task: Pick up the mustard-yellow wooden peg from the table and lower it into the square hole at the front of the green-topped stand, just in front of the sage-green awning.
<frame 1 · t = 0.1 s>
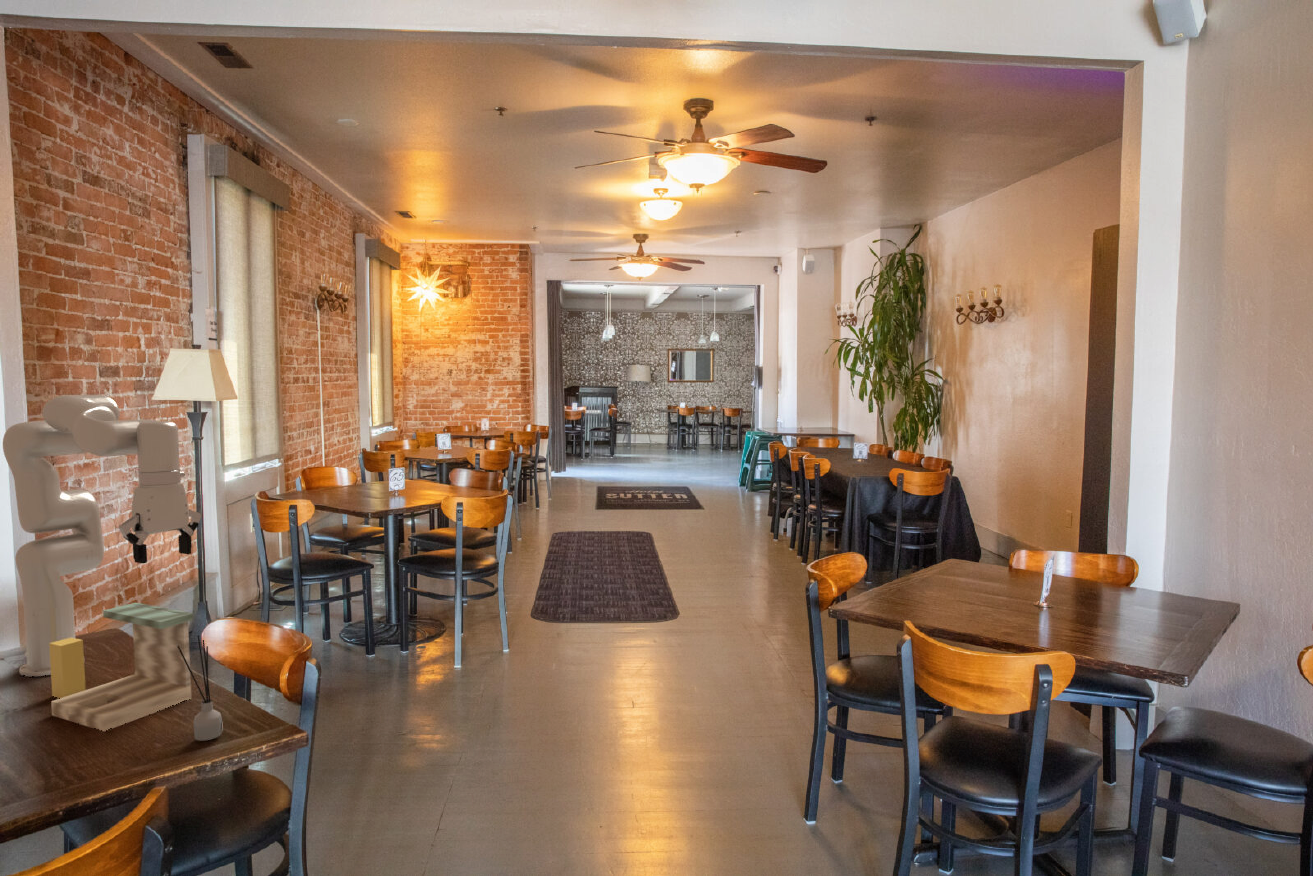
hand: (163, 558, 171), 31 cm above the table, tool pointing down, fingers open, 9 cm apart
green-topped stand: (118, 708, 168), on the table
peg: (69, 694, 176), on the table
reed diffuser: (202, 740, 153), on the table
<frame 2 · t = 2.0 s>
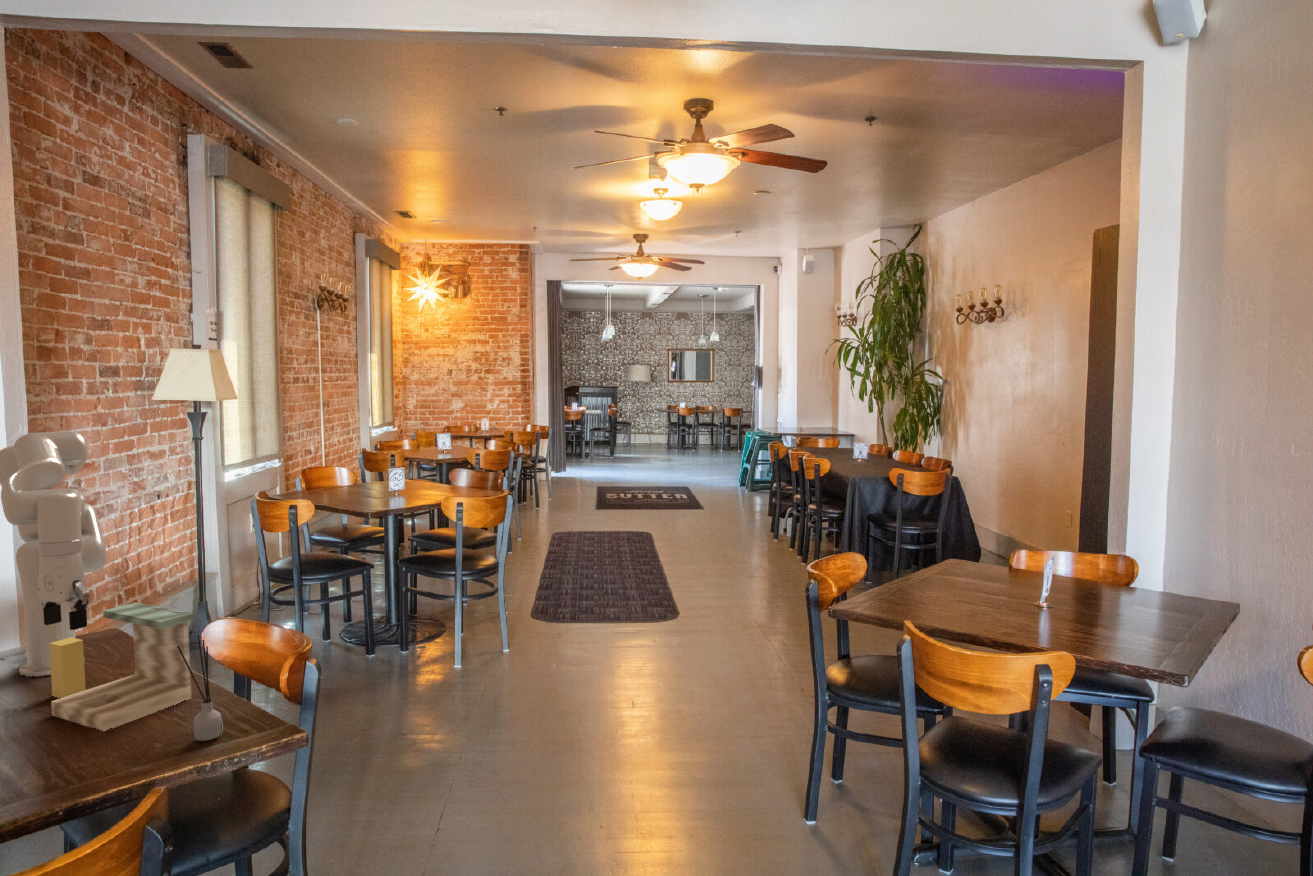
hand: (65, 626, 174), 16 cm above the table, tool pointing down, fingers open, 9 cm apart
nothing on the table moved.
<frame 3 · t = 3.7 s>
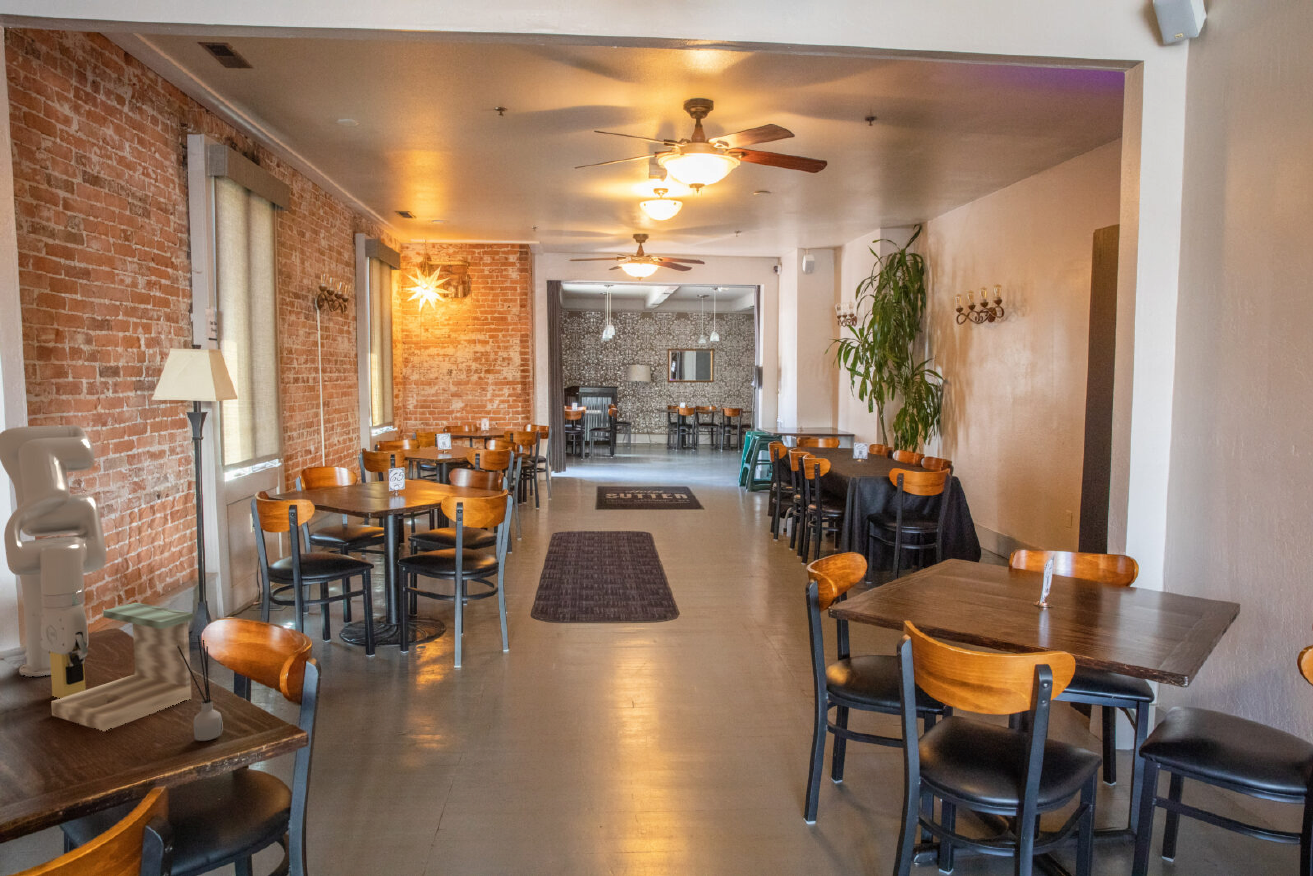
hand: (68, 679, 176), 3 cm above the table, tool pointing down, fingers closed on peg, 4 cm apart
peg: (69, 694, 176), on the table, touching gripper
everything else where it was.
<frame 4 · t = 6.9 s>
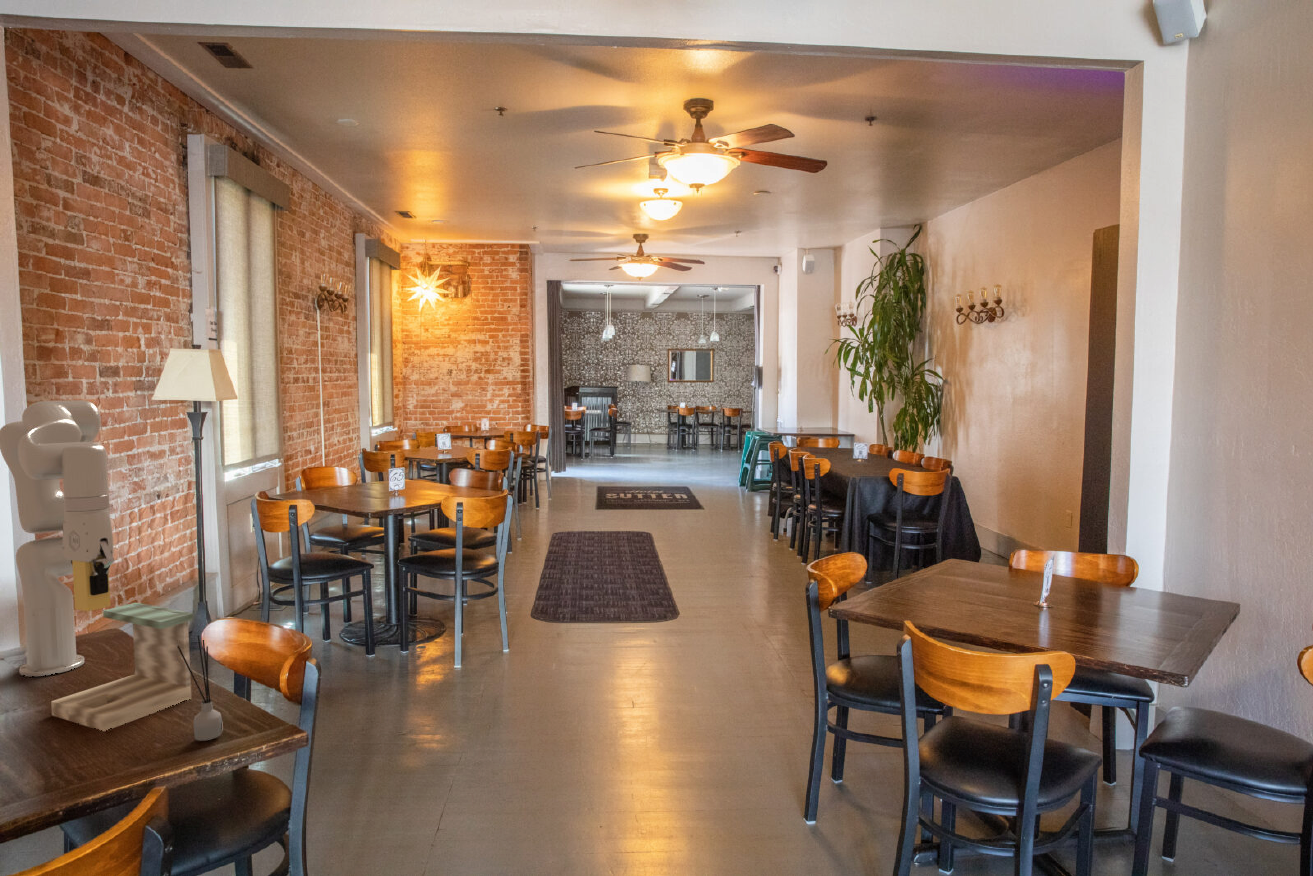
hand: (92, 591, 164), 26 cm above the table, tool pointing down, fingers closed on peg, 4 cm apart
peg: (92, 607, 164), point 23 cm above the table, touching gripper
everything else where it was.
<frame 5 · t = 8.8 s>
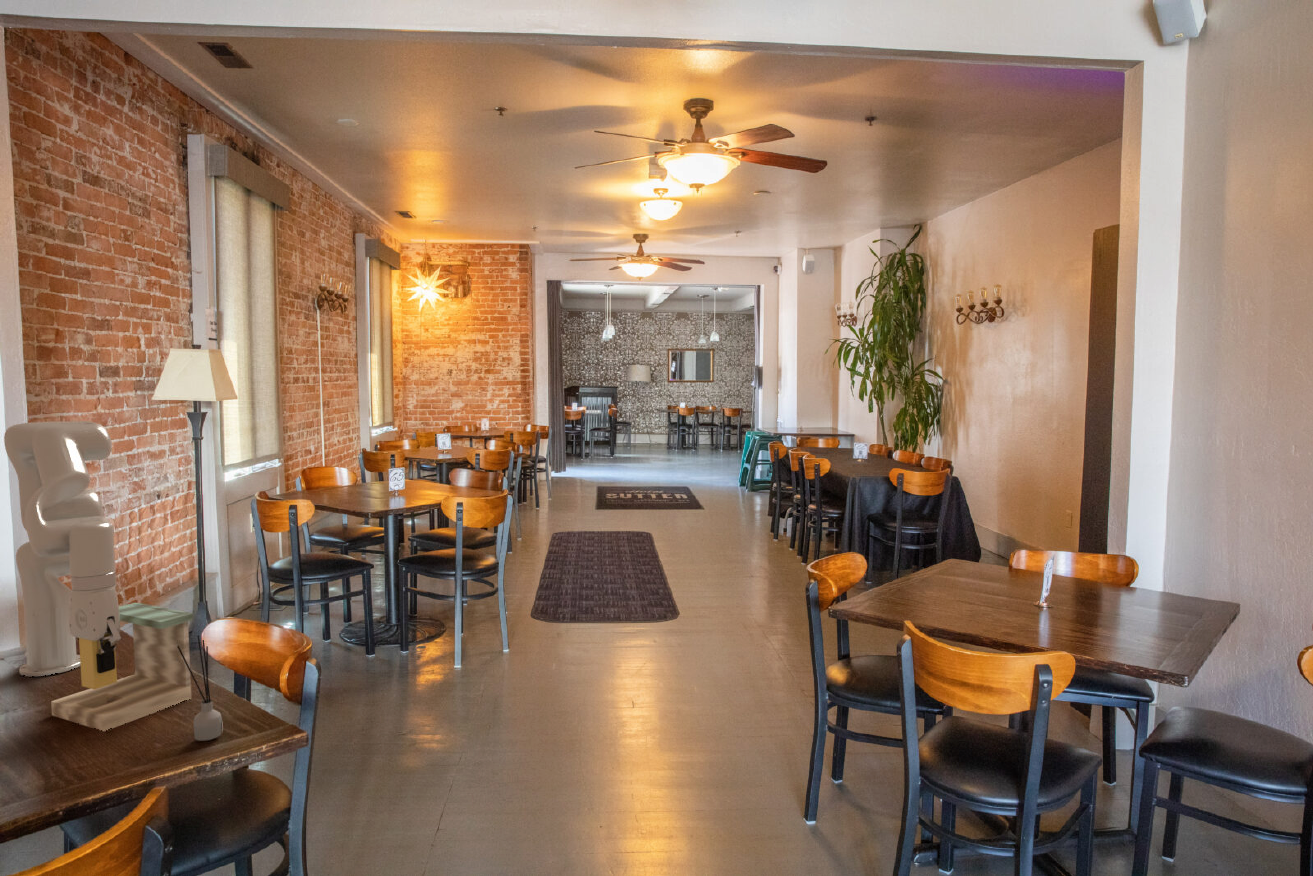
hand: (98, 668, 164), 10 cm above the table, tool pointing down, fingers closed on peg, 4 cm apart
peg: (99, 684, 164), point 7 cm above the table, touching gripper
everything else where it was.
when the fingers open (5 cm above the table, at t = 10.1 s): peg drops 1 cm, resting in green-topped stand.
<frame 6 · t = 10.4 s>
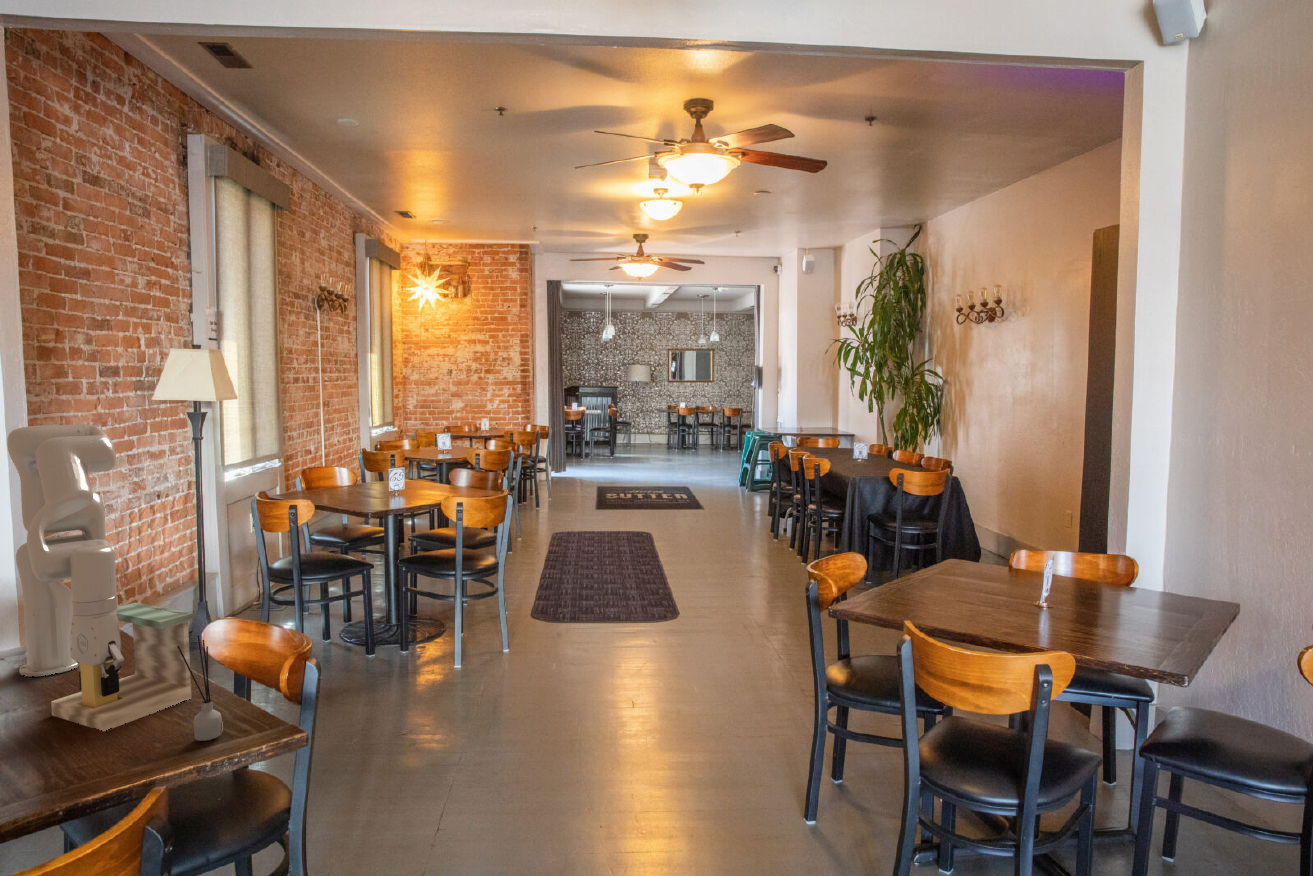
hand: (99, 690, 165), 5 cm above the table, tool pointing down, fingers open, 6 cm apart
peg: (100, 715, 165), resting in green-topped stand
everything else where it was.
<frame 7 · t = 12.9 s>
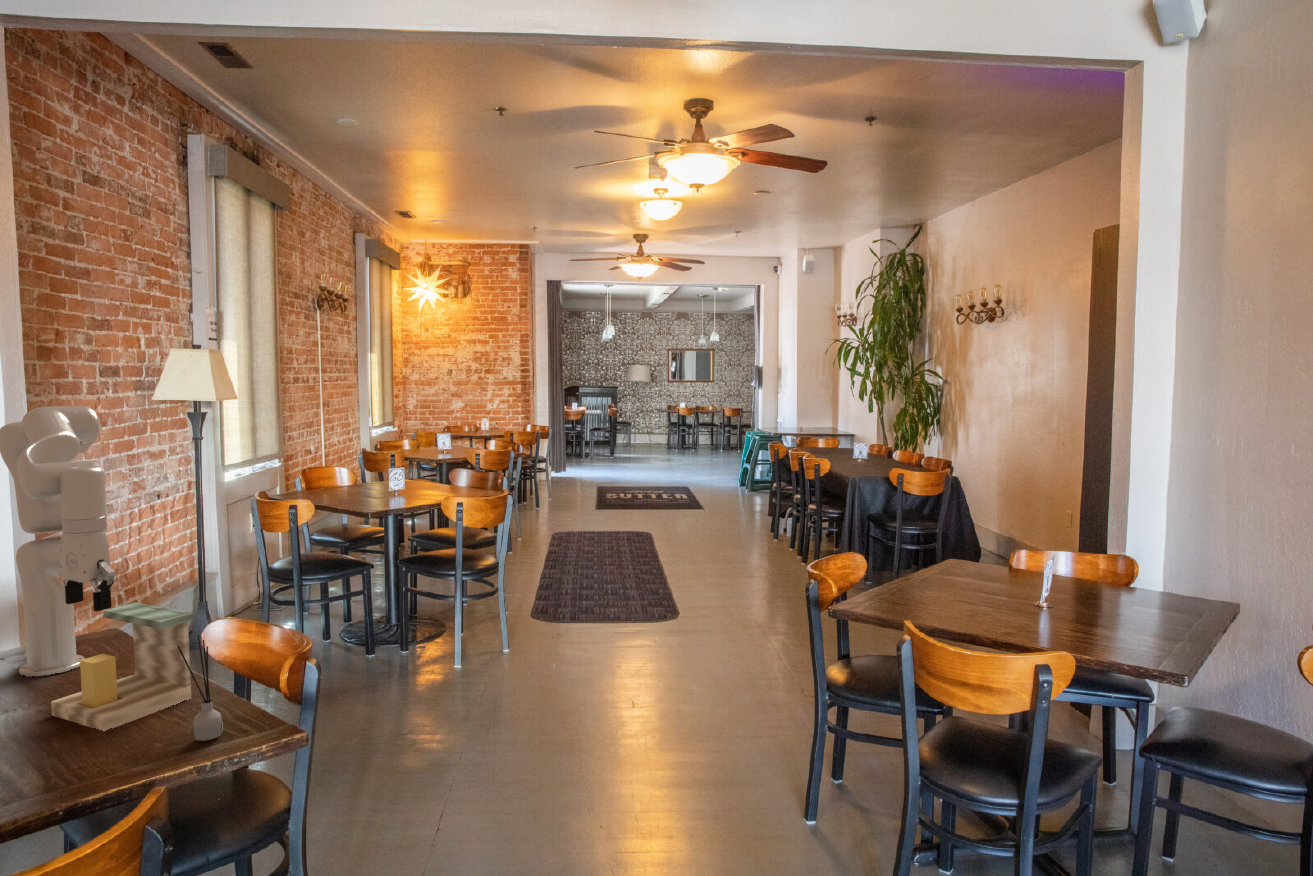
hand: (88, 606, 166), 22 cm above the table, tool pointing down, fingers open, 9 cm apart
nothing on the table moved.
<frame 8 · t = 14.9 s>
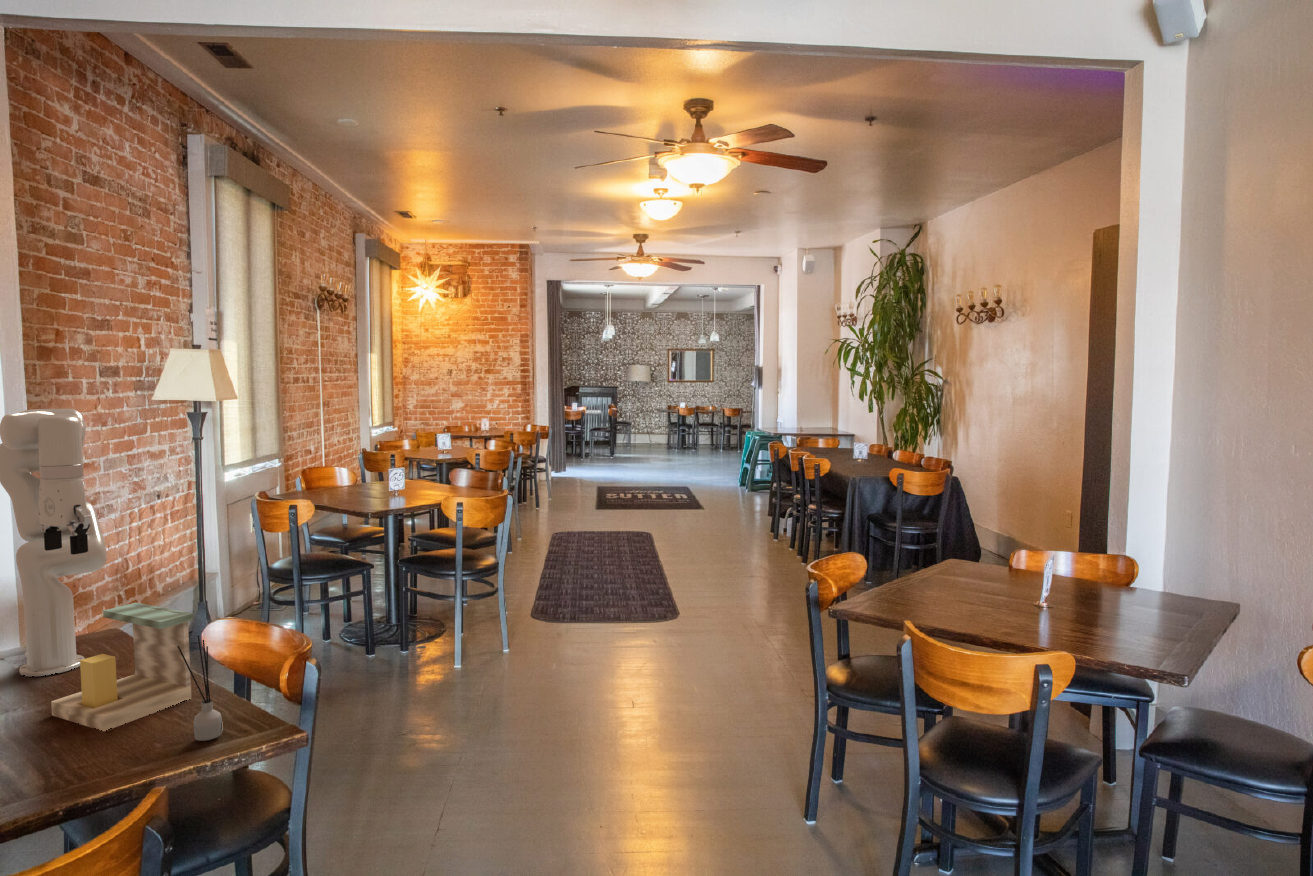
hand: (66, 551, 173), 32 cm above the table, tool pointing down, fingers open, 9 cm apart
nothing on the table moved.
at the end: peg 0.1 cm from the target spot on the green-topped stand, point 0.0 cm above the green-topped stand's base; peg tilted 0°; the gripper is holding nothing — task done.
